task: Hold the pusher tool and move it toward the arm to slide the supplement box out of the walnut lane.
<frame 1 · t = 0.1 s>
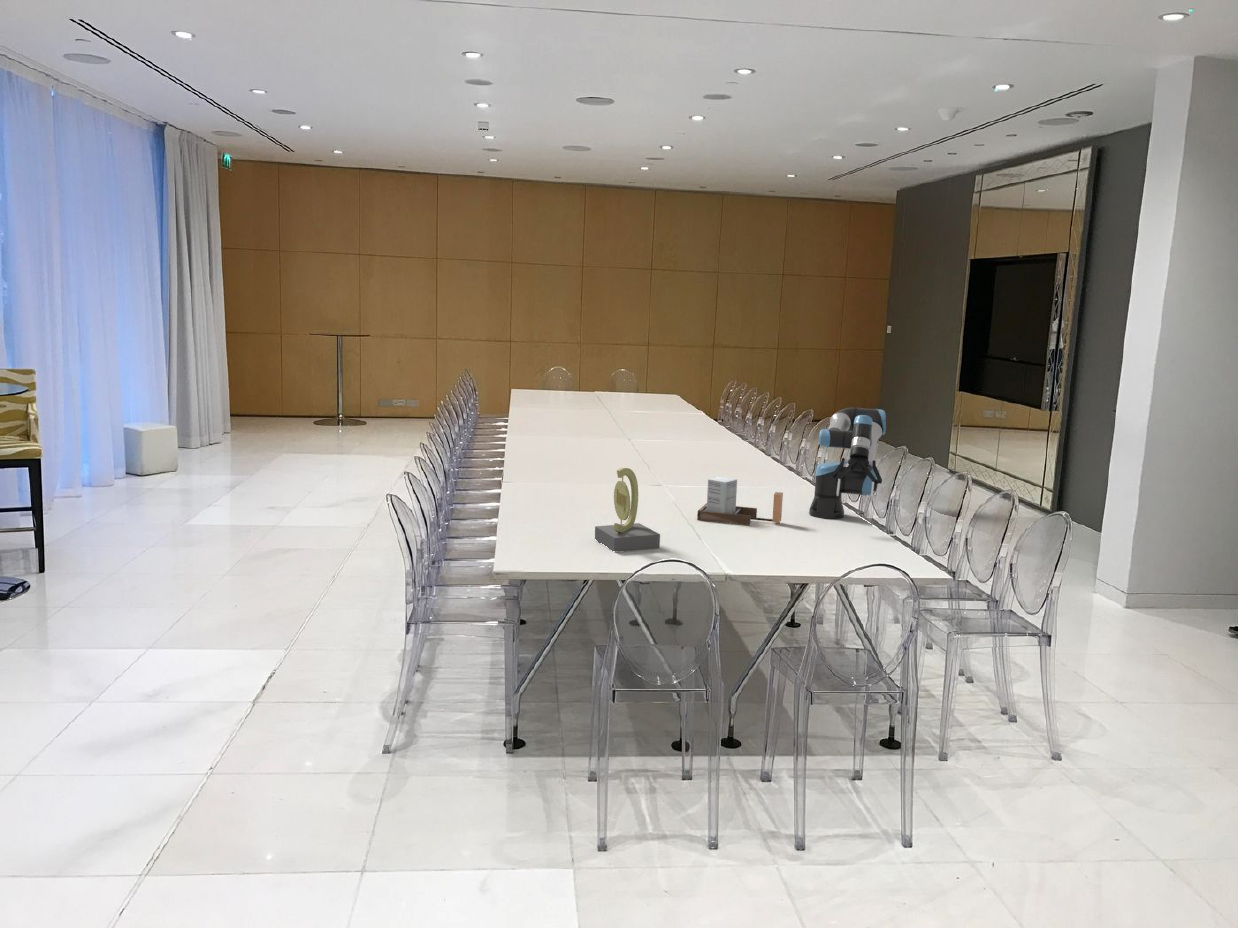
hand: (854, 496, 406), 15 cm above the table, tool tilted 35°, fingers open, 13 cm apart
trophy: (626, 545, 379), on the table
walnut lane: (720, 517, 428), on the table
supplement box: (720, 517, 428), resting in pusher tool
pusher tool: (743, 504, 424), point 7 cm above the table, slide at 0.0 cm, touching supplement box
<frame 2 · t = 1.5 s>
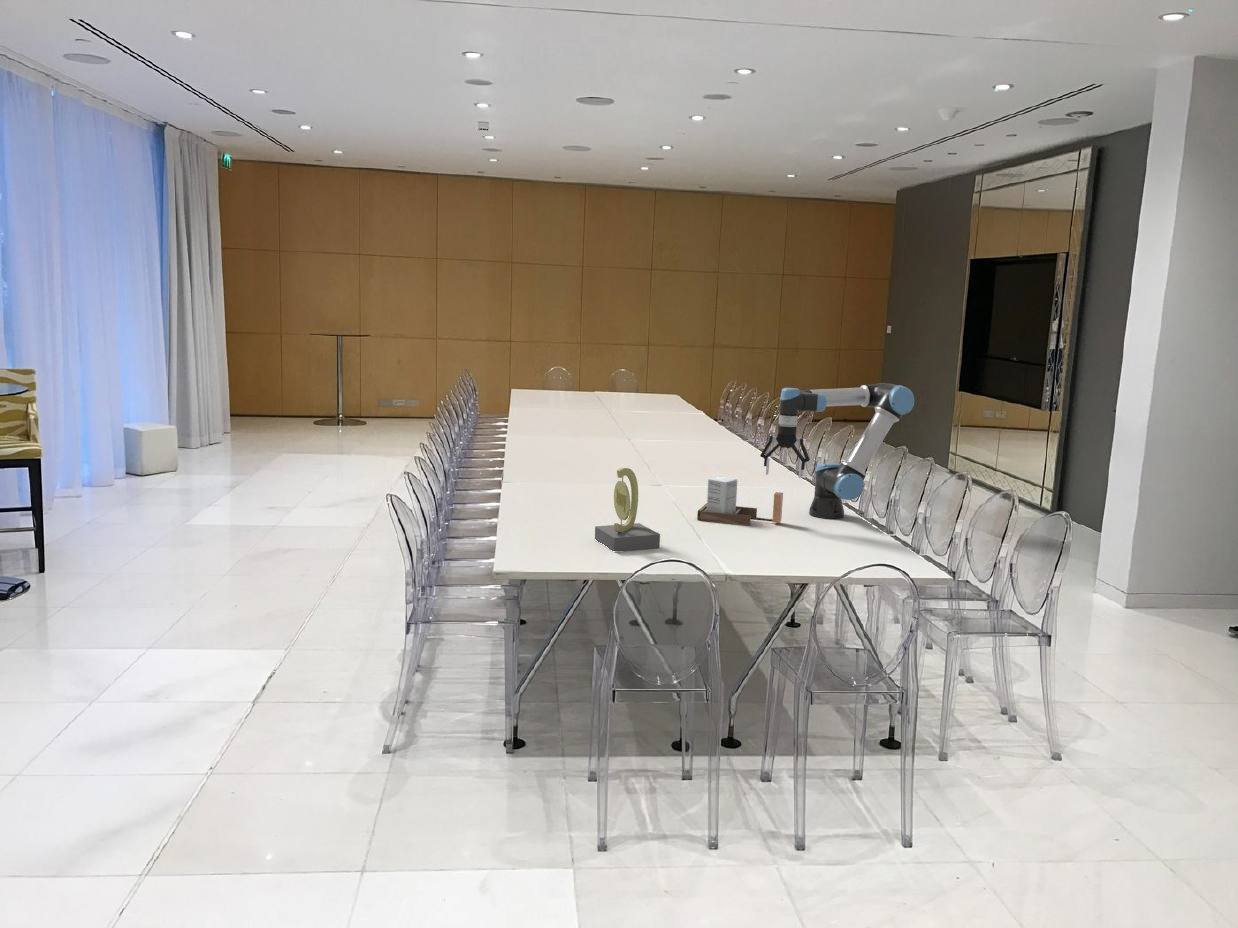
hand: (783, 476, 416), 21 cm above the table, tool pointing down, fingers open, 13 cm apart
nothing on the table moved.
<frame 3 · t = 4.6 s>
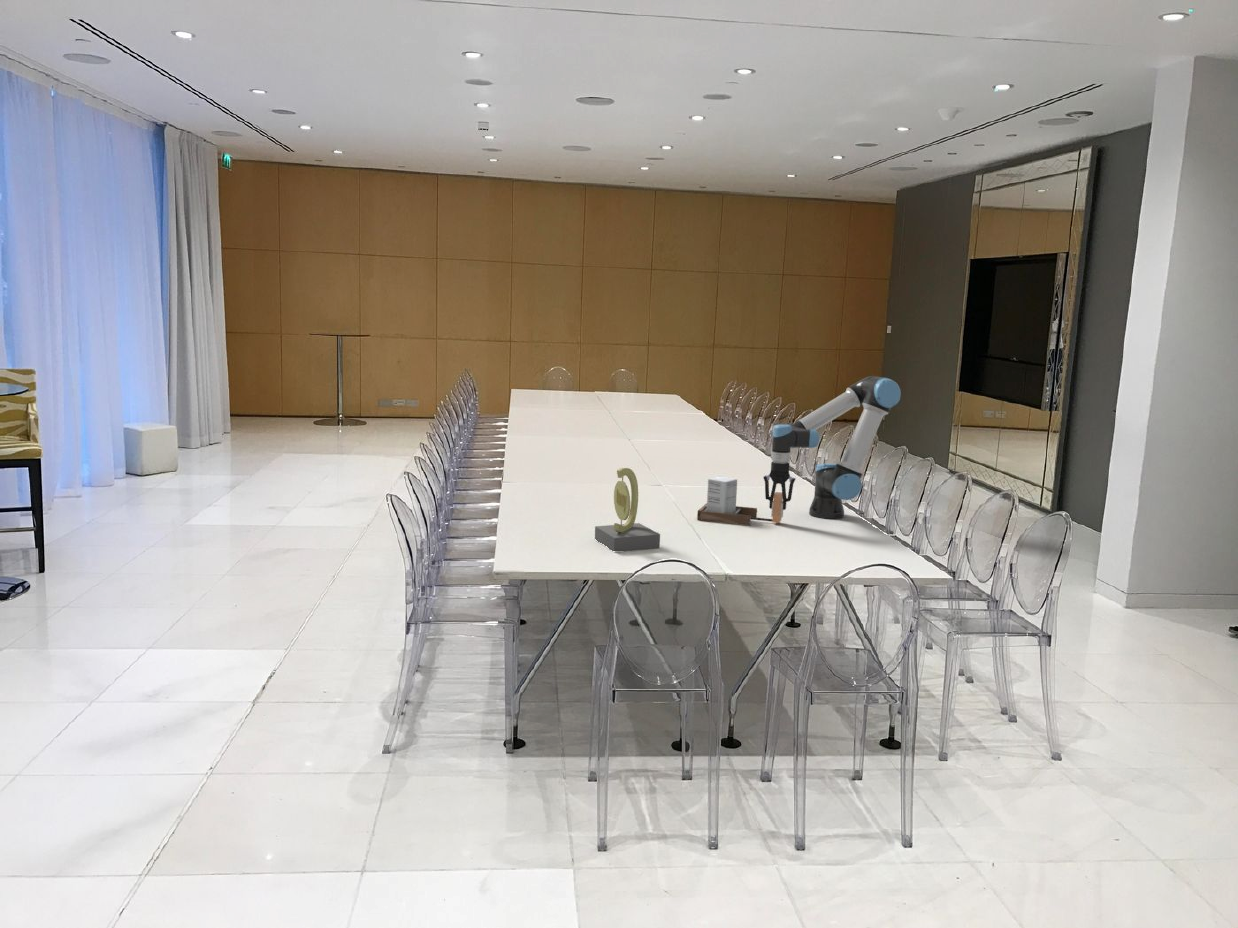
hand: (777, 516, 420), 3 cm above the table, tool pointing down, fingers closed on pusher tool, 3 cm apart
pusher tool: (743, 504, 424), point 7 cm above the table, slide at 0.0 cm, touching gripper, supplement box
everything else where it was.
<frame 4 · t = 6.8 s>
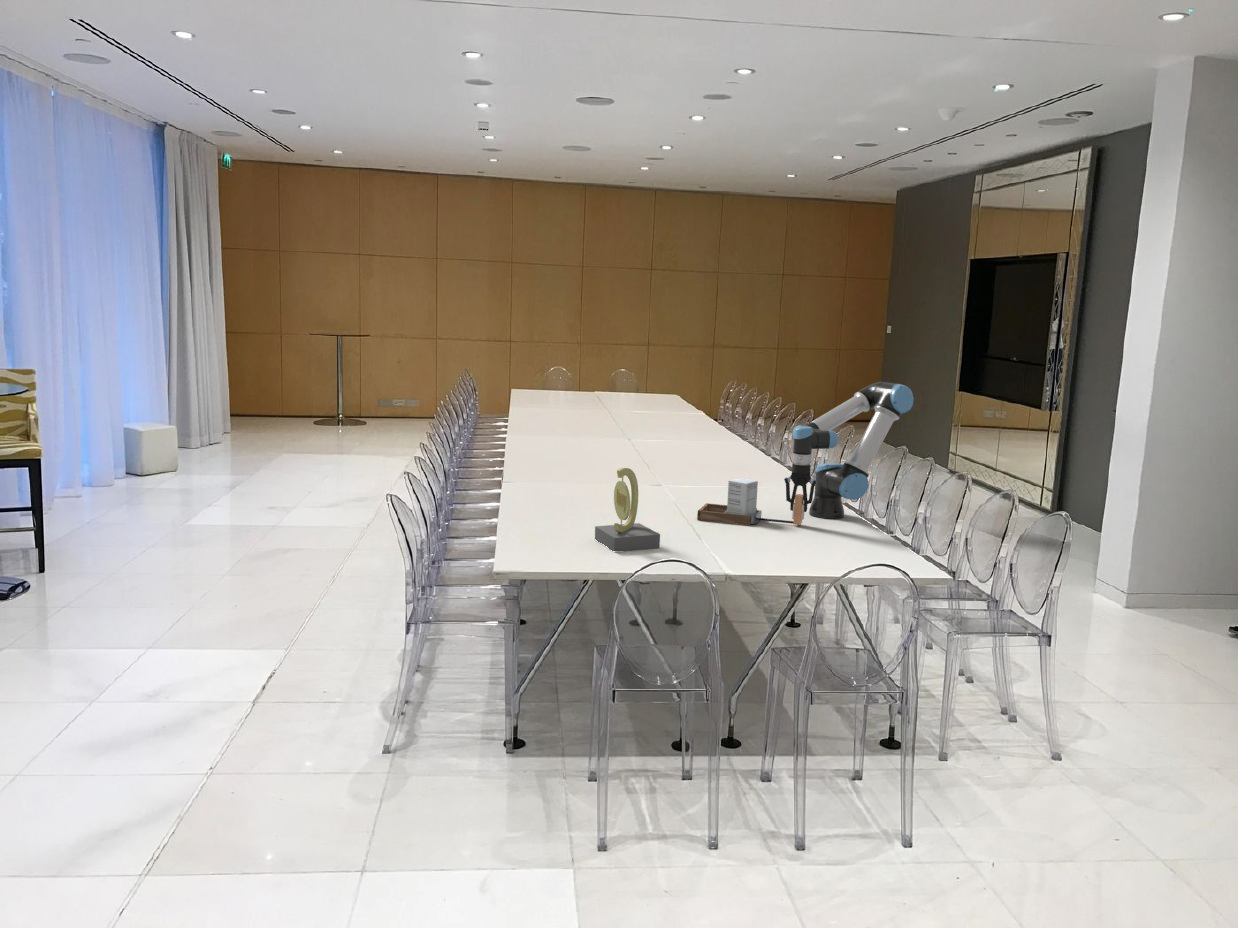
hand: (798, 518, 418), 3 cm above the table, tool pointing down, fingers closed on pusher tool, 3 cm apart
supplement box: (741, 519, 425), resting in pusher tool
pusher tool: (763, 506, 421), point 7 cm above the table, slide at 8.8 cm, touching gripper, supplement box
everything else where it was.
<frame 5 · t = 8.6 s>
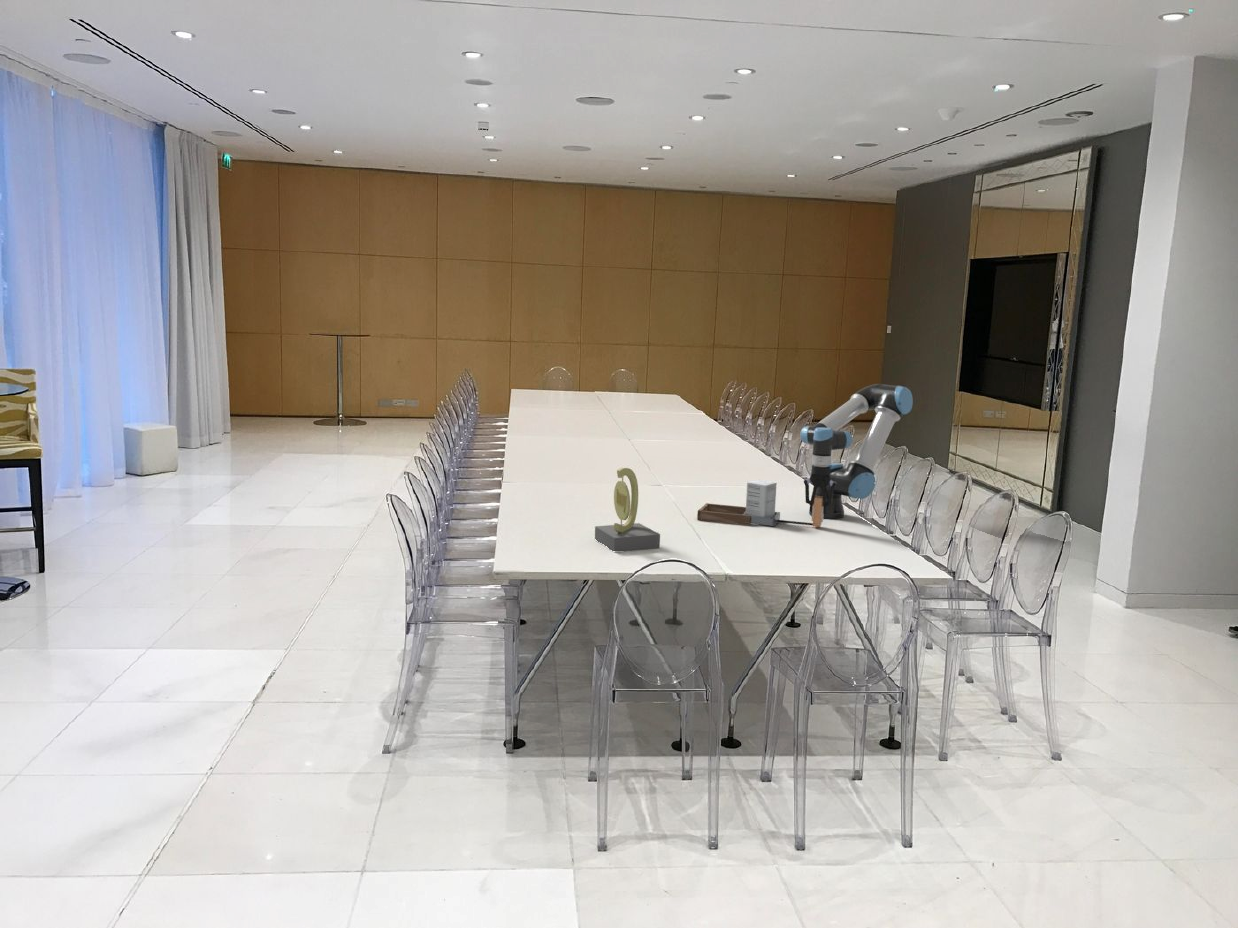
hand: (817, 520, 415), 3 cm above the table, tool pointing down, fingers closed on pusher tool, 3 cm apart
supplement box: (759, 521, 423), resting in pusher tool
pusher tool: (782, 508, 419), point 7 cm above the table, slide at 16.8 cm, touching gripper, supplement box
everything else where it was.
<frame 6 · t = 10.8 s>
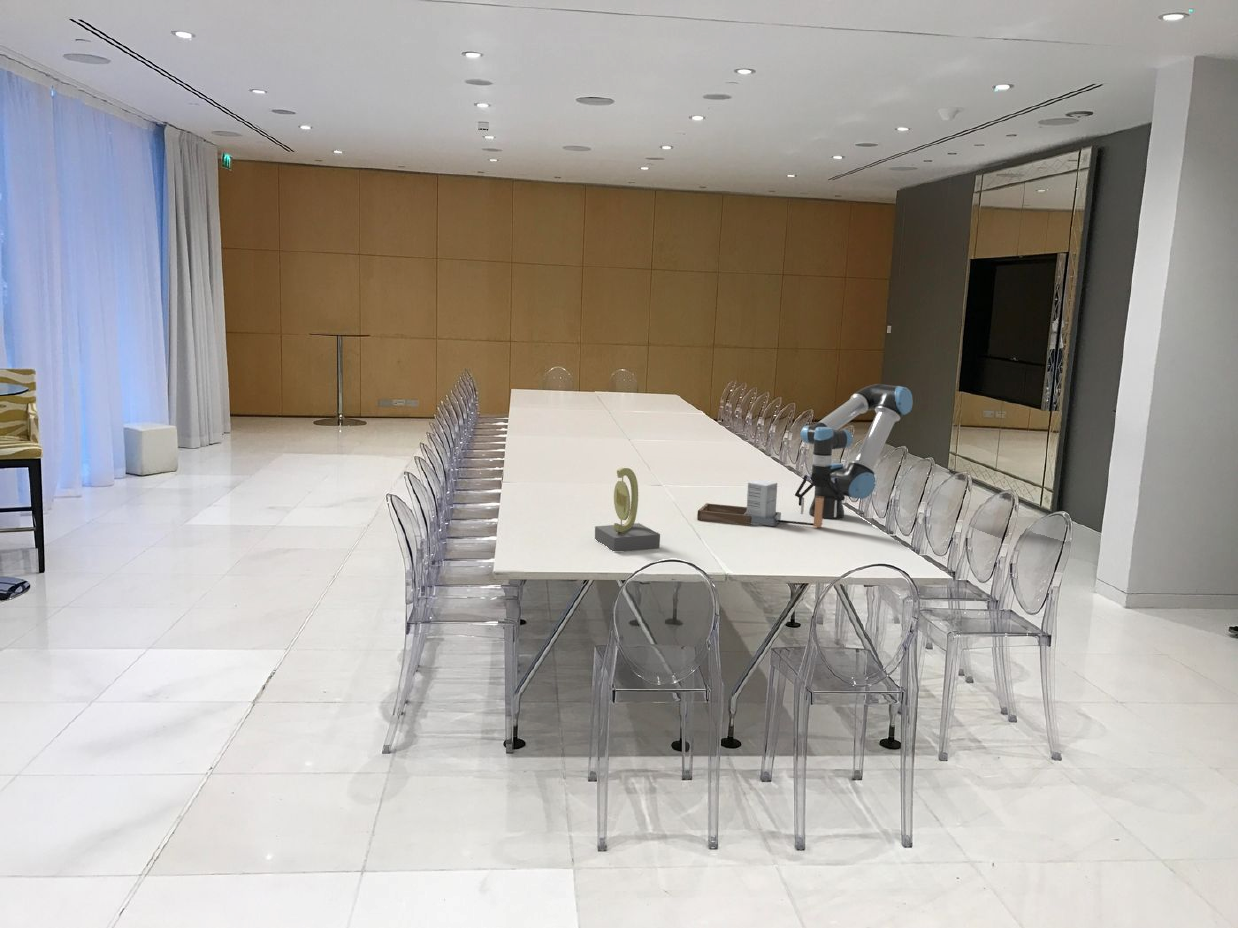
hand: (818, 514, 415), 5 cm above the table, tool pointing down, fingers open, 13 cm apart
pusher tool: (783, 508, 419), point 7 cm above the table, slide at 17.1 cm, touching supplement box
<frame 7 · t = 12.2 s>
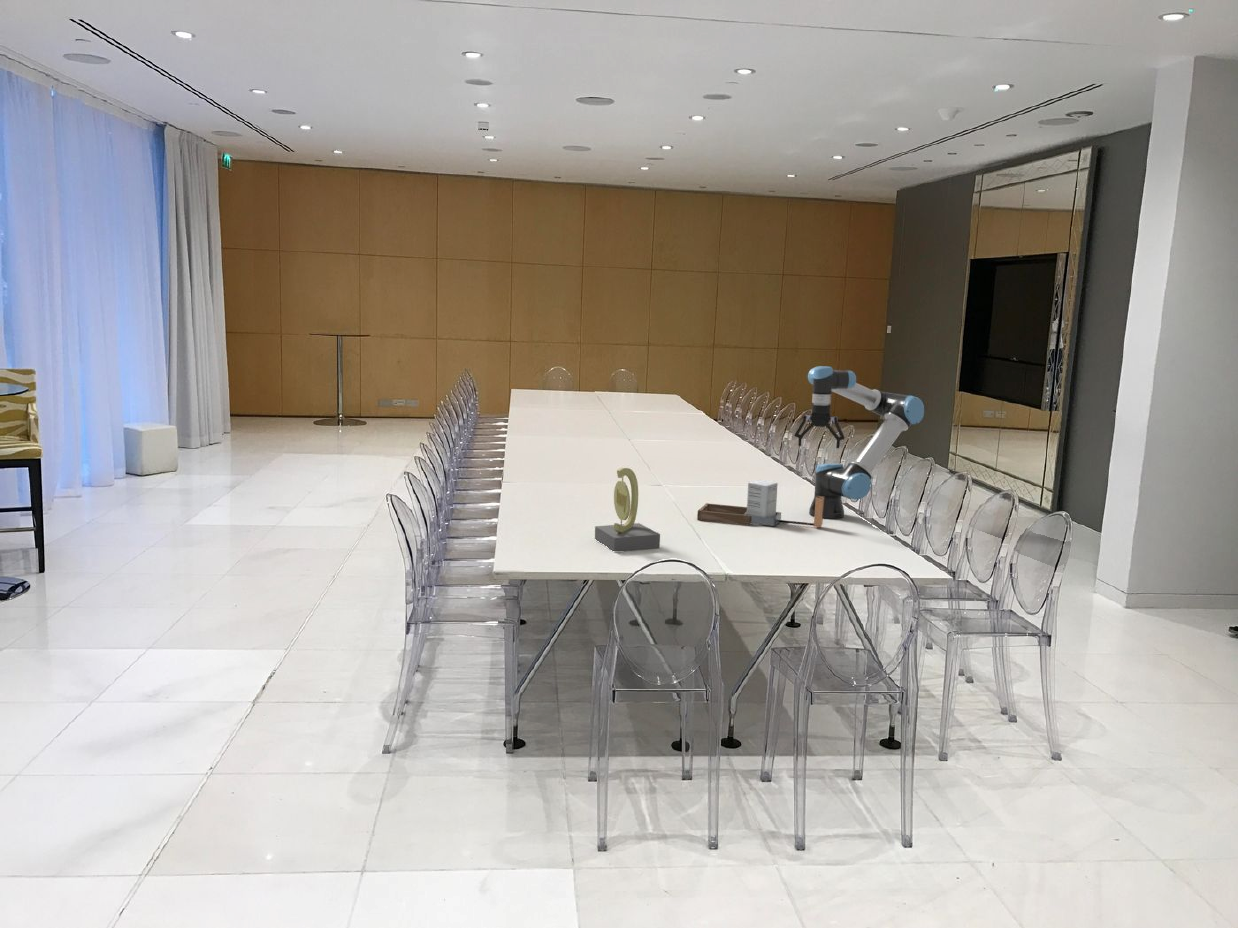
hand: (818, 455, 415), 30 cm above the table, tool pointing down, fingers open, 13 cm apart
nothing on the table moved.
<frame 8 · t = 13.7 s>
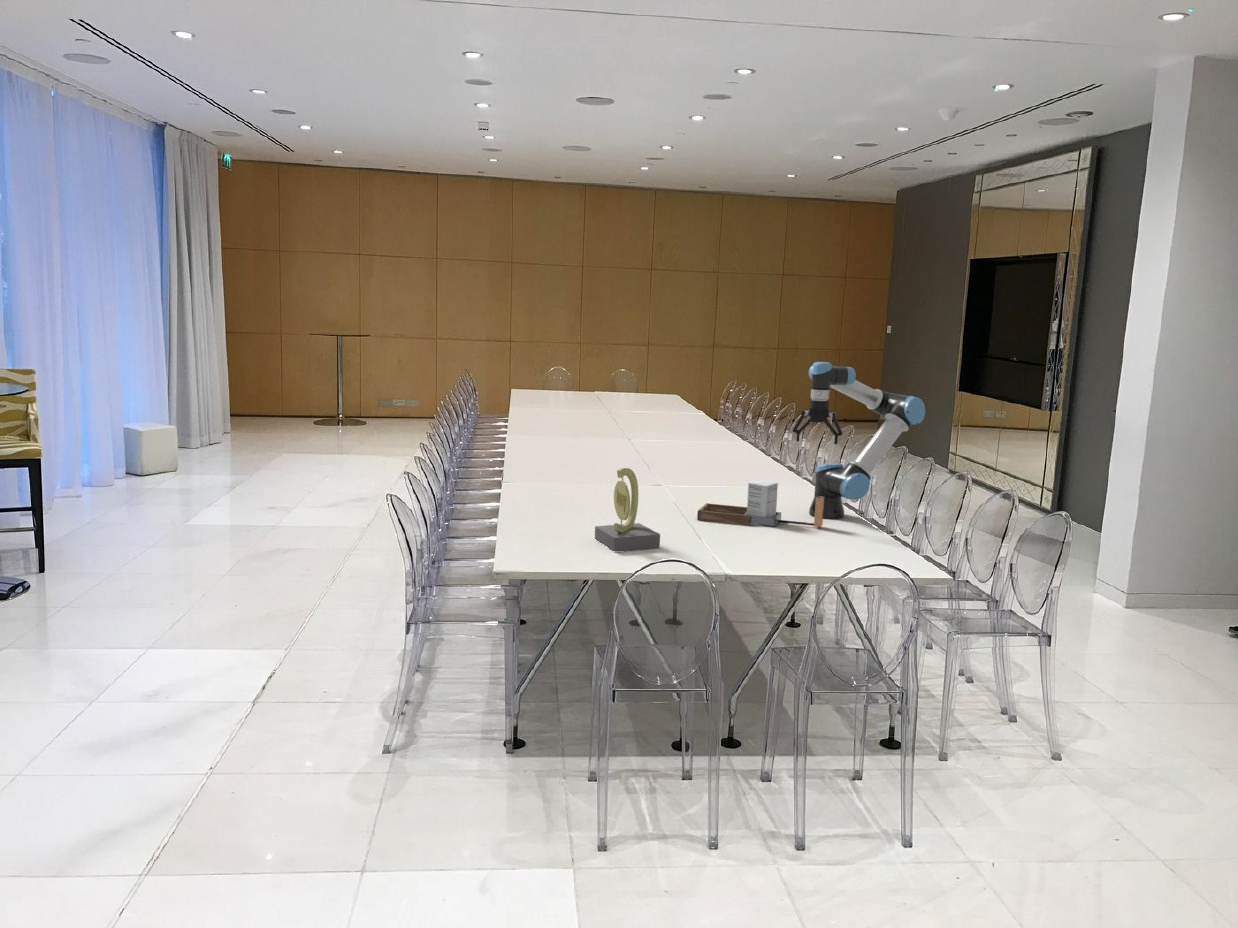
hand: (816, 450, 415), 32 cm above the table, tool pointing down, fingers open, 13 cm apart
nothing on the table moved.
at the end: supplement box inside the target area (2.7 cm from its centre), resting in pusher tool; supplement box tilted 0°; pusher tool slide at 17.3 cm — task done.
